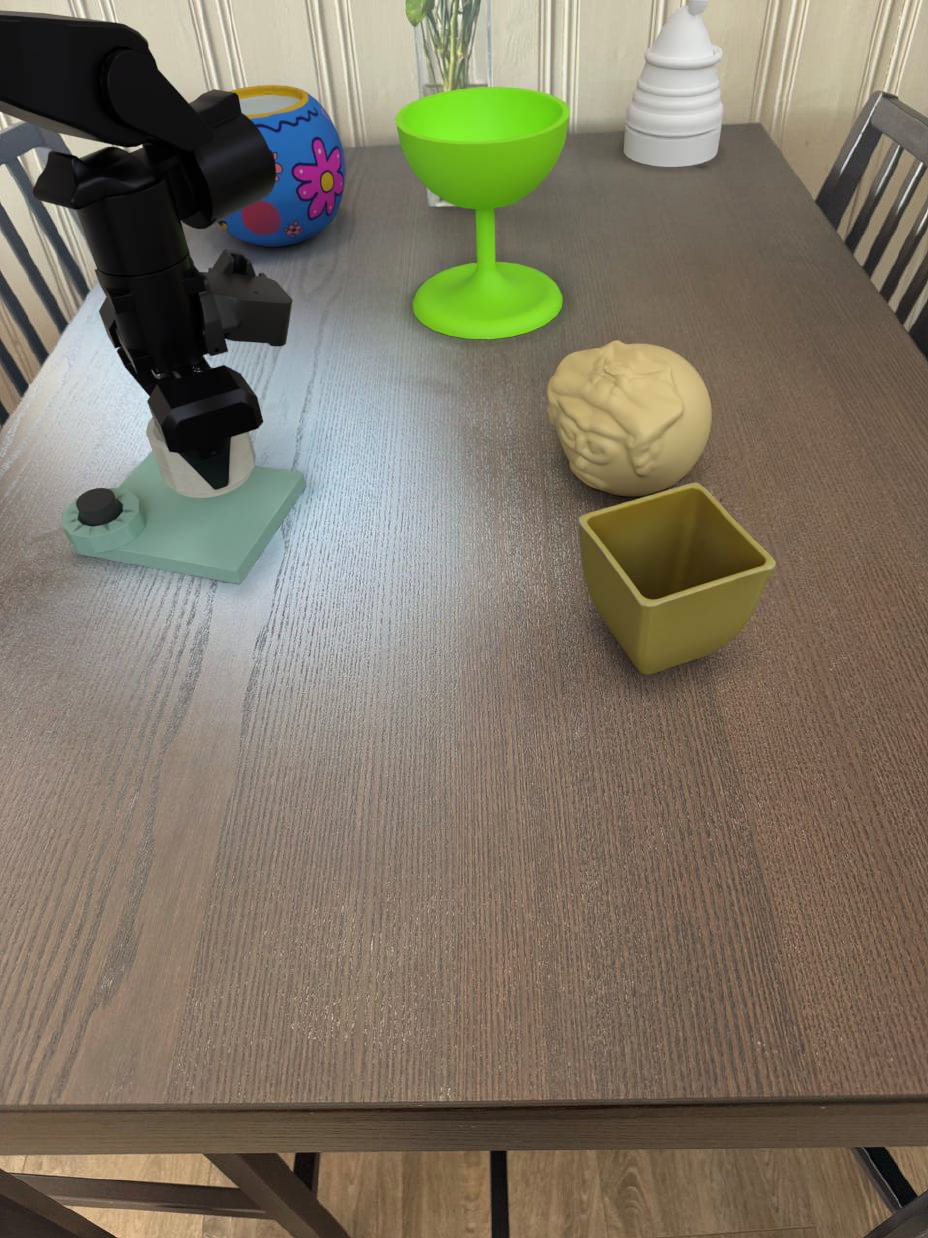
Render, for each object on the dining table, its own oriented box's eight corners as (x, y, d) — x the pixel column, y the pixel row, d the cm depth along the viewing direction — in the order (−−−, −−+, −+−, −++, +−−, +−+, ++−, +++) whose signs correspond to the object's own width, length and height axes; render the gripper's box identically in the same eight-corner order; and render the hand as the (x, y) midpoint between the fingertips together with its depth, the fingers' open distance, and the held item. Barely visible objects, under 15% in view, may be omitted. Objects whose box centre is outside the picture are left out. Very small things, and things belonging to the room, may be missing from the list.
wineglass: (393, 332, 89) (372, 140, 76) (434, 263, 99) (421, 84, 86) (548, 345, 86) (554, 147, 73) (573, 272, 96) (582, 88, 83)
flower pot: (568, 614, 60) (574, 514, 54) (680, 580, 62) (699, 478, 56) (629, 708, 54) (644, 607, 48) (750, 666, 56) (780, 564, 50)
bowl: (147, 493, 65) (127, 442, 62) (192, 440, 70) (177, 390, 66) (231, 507, 63) (215, 456, 60) (272, 452, 68) (260, 401, 65)
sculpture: (524, 470, 72) (525, 351, 64) (624, 413, 77) (636, 296, 69) (627, 537, 65) (642, 414, 58) (729, 470, 70) (755, 349, 63)
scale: (61, 559, 67) (45, 529, 64) (148, 461, 75) (137, 432, 73) (235, 592, 63) (225, 562, 61) (306, 486, 72) (299, 456, 69)
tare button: (75, 524, 65) (68, 507, 64) (96, 501, 67) (89, 485, 66) (107, 529, 65) (100, 513, 64) (128, 506, 67) (121, 490, 65)
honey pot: (737, 152, 119) (764, -7, 106) (663, 174, 115) (681, 10, 102) (676, 128, 127) (694, -24, 114) (604, 147, 123) (614, -8, 110)
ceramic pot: (188, 233, 108) (151, 98, 97) (315, 197, 115) (294, 66, 104) (244, 283, 98) (210, 138, 87) (381, 241, 104) (365, 100, 93)
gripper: (317, 280, 51) (353, 492, 62) (221, 182, 63) (266, 376, 74) (128, 331, 48) (202, 546, 59) (64, 218, 59) (136, 415, 71)
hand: (206, 461), depth 66 cm, fingers closed on bowl, 7 cm apart
